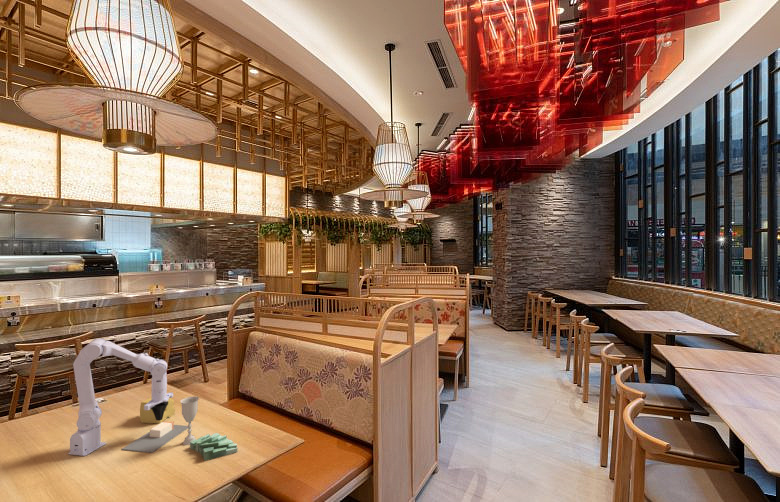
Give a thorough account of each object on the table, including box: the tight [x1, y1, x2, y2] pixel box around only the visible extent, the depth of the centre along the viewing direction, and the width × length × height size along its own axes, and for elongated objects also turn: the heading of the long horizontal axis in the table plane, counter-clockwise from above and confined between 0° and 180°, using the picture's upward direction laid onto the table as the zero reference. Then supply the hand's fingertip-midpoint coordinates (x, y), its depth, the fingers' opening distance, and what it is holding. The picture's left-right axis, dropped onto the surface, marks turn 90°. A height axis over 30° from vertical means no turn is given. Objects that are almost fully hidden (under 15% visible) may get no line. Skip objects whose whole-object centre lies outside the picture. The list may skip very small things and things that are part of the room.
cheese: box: [139, 396, 176, 424], centre depth 178 cm, size 10×11×10 cm
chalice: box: [179, 395, 200, 446], centre depth 156 cm, size 7×7×18 cm
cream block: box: [149, 420, 175, 438], centre depth 163 cm, size 3×5×8 cm
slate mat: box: [121, 424, 188, 454], centre depth 160 cm, size 22×14×1 cm, turn 172°
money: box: [189, 432, 238, 462], centre depth 151 cm, size 20×16×5 cm
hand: (159, 419), depth 162 cm, fingers closed
